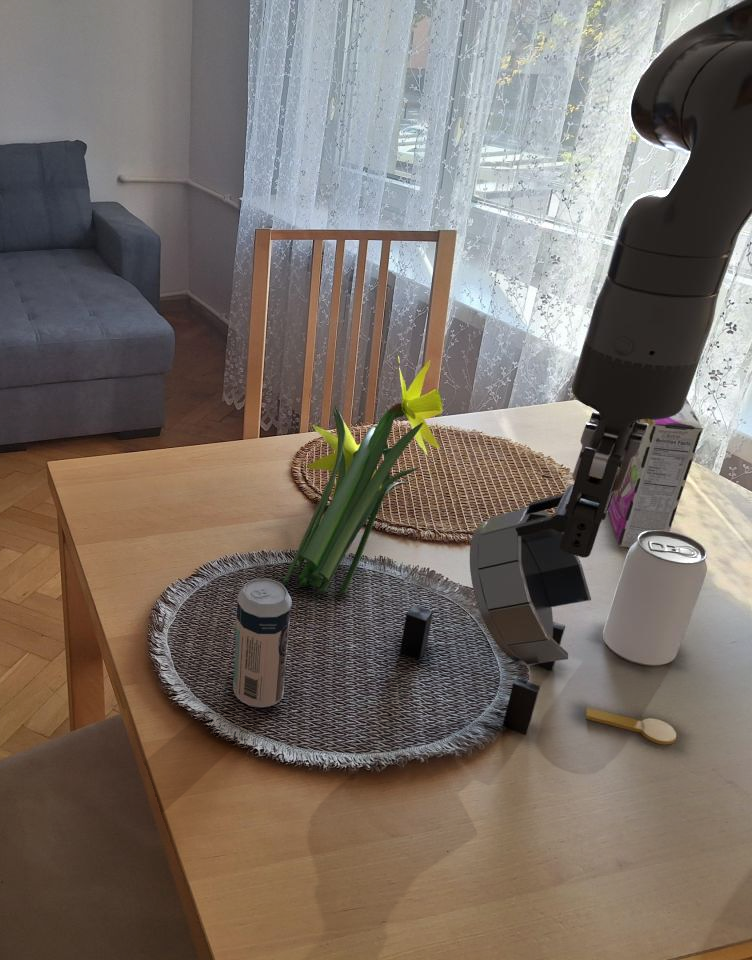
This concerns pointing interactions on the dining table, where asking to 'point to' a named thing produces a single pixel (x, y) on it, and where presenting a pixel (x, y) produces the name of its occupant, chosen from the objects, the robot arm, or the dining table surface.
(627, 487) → the candy bar box
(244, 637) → the beer can
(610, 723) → the spoon
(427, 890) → the dining table surface
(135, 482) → the dining table surface
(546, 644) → the bowl
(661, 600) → the can
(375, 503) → the daffodil flowers
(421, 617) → the bowl stand
